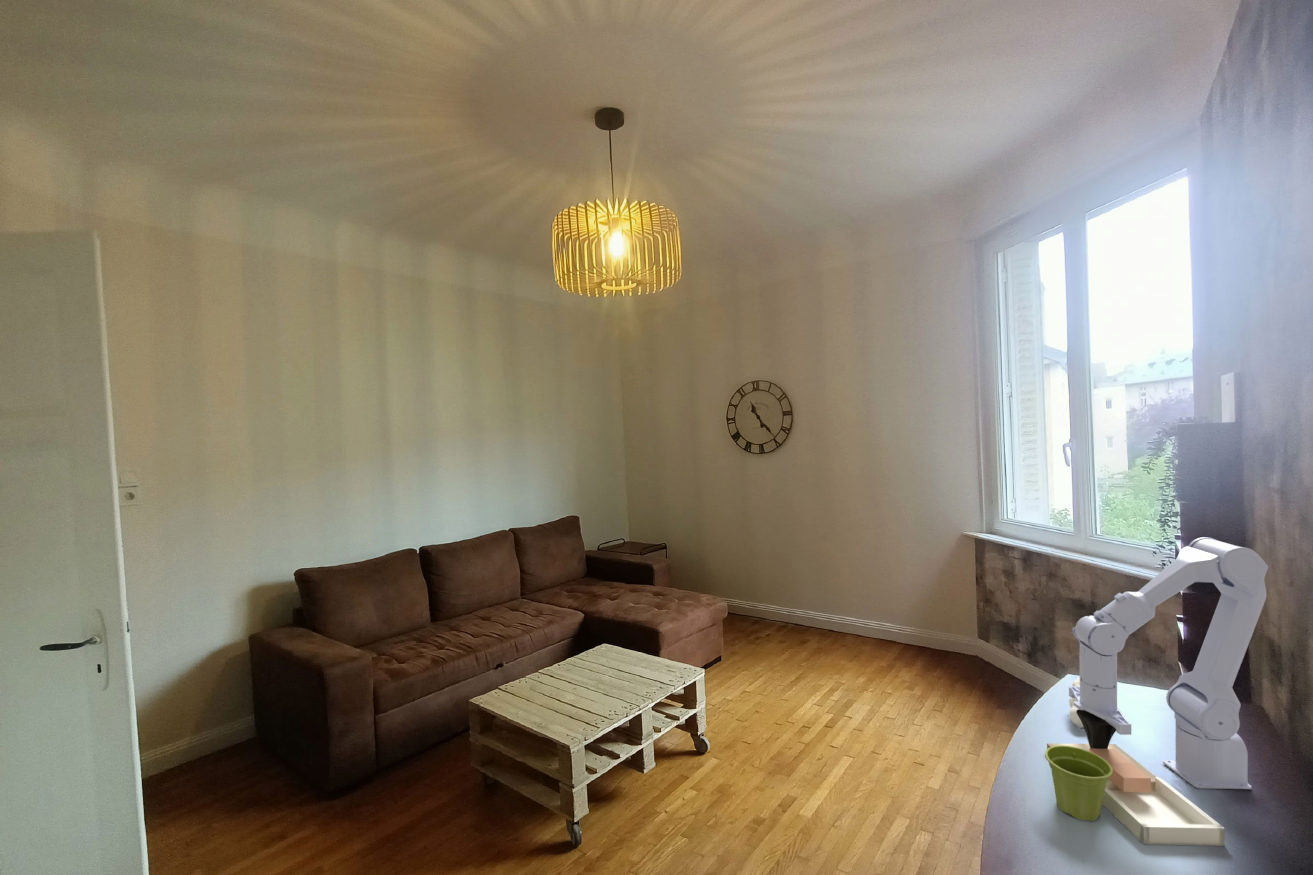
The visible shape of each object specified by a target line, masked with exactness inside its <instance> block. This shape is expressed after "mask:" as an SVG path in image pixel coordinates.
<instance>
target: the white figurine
mask: <svg viewBox="0 0 1313 875" xmlns="http://www.w3.org/2000/svg"><path fill="white" fill-rule="evenodd" d="M1071 687H1080V676H1078V677H1077V678H1076V679H1075V681H1074V682H1072V683H1071ZM1074 702H1077V701H1076V699H1075V698H1071V697H1070V696H1069V700H1068V705H1069V707H1070V709H1069V715H1067V714H1066V715H1067V717H1068V718H1069V720H1070V722H1071V723H1073V724H1074V725H1075V726H1077V728H1079V729H1082V728H1084V726H1083V724H1082V722H1081V720H1080V718H1079V716H1078V715H1077V713H1076V711H1077V710H1079V709H1078V708H1076V707H1075V706H1074Z"/></svg>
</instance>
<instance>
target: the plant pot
mask: <svg viewBox="0 0 1313 875" xmlns="http://www.w3.org/2000/svg"><path fill="white" fill-rule="evenodd" d="M1044 755H1045V758H1046V760H1047V761H1048V763H1049V764H1048V765H1049V767H1050V769H1051V774H1052V776H1051V777H1052V781H1053V782H1052V783H1053V787H1054V794H1055V799H1056V800H1055V801H1056V805H1057V808H1059V809H1060V810H1061V811H1062V812H1063V813H1067V814H1069V815H1071V816H1072V817H1073V818H1075V819H1078V820H1080V821H1081V820H1082V821H1087V822H1088V821H1090V822H1091V821H1096V820H1097V819H1098V818H1099V817H1100V816H1101V814H1102V813H1101V812H1102V807H1103V804H1102V802H1103V796H1104V791H1105V786H1106V783H1107V782H1108V779H1109V777H1110V776H1111V775H1112V773H1113V769H1112V767H1111V765H1110V764H1109V763H1108V762H1107V761H1106V760H1105V759H1103V758H1102V757H1100V756H1098V755H1096V754H1094V753H1092V752H1090V751H1087V750H1084V749H1081V748H1077V747H1072V746H1052V747H1050V748H1048V749H1047V748H1046V750H1045V753H1044Z"/></svg>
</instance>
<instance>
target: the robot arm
mask: <svg viewBox="0 0 1313 875" xmlns="http://www.w3.org/2000/svg"><path fill="white" fill-rule="evenodd" d="M1268 569H1269V566H1268V564H1267V563H1266V562H1265V560H1264V559H1263V558H1262V557H1261V555H1259V554H1258V553H1257V552H1256V551H1255V550H1253V549H1251V548H1250V547H1249V548H1248V547H1244V546H1243V547H1242V546H1239V545H1235V544H1233V543H1232V544H1231V543H1227V542H1223V541H1220V540H1218V539H1215V538H1213V537H1207V536H1206V537H1205V536H1203V537H1198V538H1196V539H1194V540H1192V541H1191V542H1190V543H1189V544H1188V545H1186V546H1184V547H1183V548H1181V549H1180V550H1179V552H1178V555H1177V557H1176V558H1175V559H1174V560H1173V561H1172V562H1171V563H1170V564H1169V565H1167V566H1166V567H1165V568H1164V569H1163V570H1161V571H1160V572H1159V573H1158V574H1156V575H1155V576H1154V577H1153V578H1152V579H1151V580H1150V581H1149V582H1147V583H1146V584H1145V585H1144V586H1143V587H1141V588H1140V589H1139V590H1138V591H1125V592H1123V593H1121V592H1118V593H1117V594H1115V595H1114V596H1113V598H1114V600H1112V601H1111V602H1109V603H1108V604H1107V605H1106V606H1104V607H1102V608H1101V609H1100V610H1096V611H1095V612H1093V615H1085V616H1083V617H1081V618H1079V619H1078V621H1077V622H1076V623H1075V624H1076V625H1075V626H1074V627H1072V628H1071V629H1072V633H1073V636H1074V637H1075V638H1076V639H1077V640H1078V642H1079V644H1078V645H1079V658H1078V659H1079V677H1080V687H1073V686H1068V697H1069V698H1070V697H1071V698H1075V699H1076V701H1077V702H1074V706H1075V707H1076V708H1078V709H1079V710H1077V711H1076V713H1077V715H1078V716H1079V718H1080V720H1081V722H1082V724H1083V726H1084V727H1083V728H1084V729H1083V730H1084V732H1085V734H1086V738H1087V742H1088V744H1089V746H1090V749H1107V748H1108V745H1109V744H1111V740H1112V737H1113V736H1114V734H1115V733H1117V734H1119V735H1122V736H1124V735H1125V736H1126V735H1128V736H1129V735H1130V736H1132V724H1131V723H1130V722H1129V721H1128V720H1127V719H1126V717H1125V716H1124V714H1123V713H1122V712H1121V710H1120V709H1119V707H1118V661H1117V660H1118V653H1120V652H1122V650H1123V649H1124V648H1125V645H1126V641H1127V639H1128V638H1129V636H1130V635H1132V633H1135V632H1136V631H1137V630H1138V629H1140V628H1141V627H1142V626H1144V625H1145V624H1146V623H1148V622H1149V621H1151V620H1152V619H1153V618H1155V616H1156V607H1157V606H1159V605H1161V604H1162V603H1164V602H1165V601H1167V600H1168V599H1170V598H1171V597H1173V596H1175V595H1177V594H1178V593H1180V592H1181V591H1183V590H1185V589H1186V588H1187V587H1189V586H1191V585H1193V584H1194V583H1212V584H1214V586H1215V587H1216V589H1217V590H1218V591H1219V592H1220V597H1219V600H1218V603H1217V605H1216V608H1215V610H1214V614H1213V616H1212V617H1211V618H1212V619H1211V622H1210V623H1209V627H1208V629H1207V631H1206V635H1205V637H1204V640H1203V643H1202V645H1201V648H1200V651H1199V653H1198V655H1197V659H1196V661H1195V663H1194V664H1195V665H1194V667H1193V669H1192V671H1189V672H1186V673H1183V674H1180V675H1179V677H1178V679H1177V682H1176V683H1175V684H1174V685H1173V686H1171V687H1170V688H1169V689H1168V691H1167V693H1166V697H1165V698H1166V703H1167V705H1168V707H1169V709H1171V711H1173V712H1174V719H1175V760H1173V759H1172V760H1168V759H1167V760H1162V763H1163V764H1164V765H1165V766H1166V767H1168V768H1169V769H1171V771H1173V772H1174V773H1175V774H1177V775H1178V776H1180V777H1181V778H1182V779H1183V780H1184V781H1186V782H1188V783H1189V784H1190V785H1191V786H1193V787H1195V788H1196V789H1217V790H1218V789H1220V790H1222V789H1223V790H1224V789H1225V790H1227V789H1228V790H1229V789H1230V790H1231V789H1232V790H1252V785H1251V784H1249V782H1248V759H1249V758H1248V755H1249V754H1248V749H1247V746H1246V744H1245V741H1244V740H1243V739H1242V737H1241V736H1240V735H1239V733H1238V731H1239V728H1240V725H1241V722H1240V719H1239V718H1240V716H1239V713H1240V709H1241V706H1242V705H1241V702H1240V700H1239V698H1238V697H1237V695H1236V693H1235V691H1234V688H1233V686H1234V683H1235V681H1236V678H1237V676H1238V673H1239V670H1240V668H1241V666H1242V665H1241V664H1242V663H1243V660H1244V657H1245V656H1246V655H1245V654H1246V652H1247V649H1248V647H1249V644H1250V642H1251V639H1252V636H1253V634H1254V631H1255V629H1256V626H1257V623H1258V621H1259V618H1260V615H1261V613H1262V610H1263V608H1264V605H1265V603H1266V600H1267V596H1268V595H1267V588H1266V581H1265V577H1266V574H1267V573H1268V572H1267V571H1268Z"/></svg>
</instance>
